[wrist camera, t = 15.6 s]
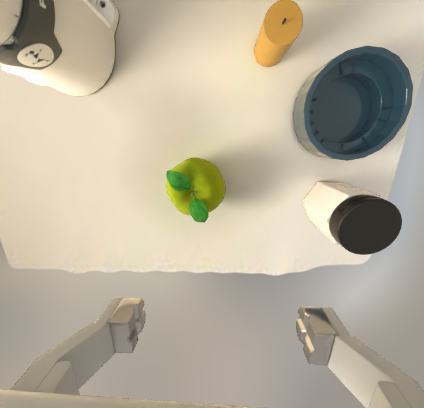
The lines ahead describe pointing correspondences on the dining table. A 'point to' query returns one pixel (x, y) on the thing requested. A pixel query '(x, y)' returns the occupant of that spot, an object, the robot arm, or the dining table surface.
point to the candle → (278, 32)
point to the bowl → (353, 104)
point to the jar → (353, 217)
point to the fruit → (195, 187)
